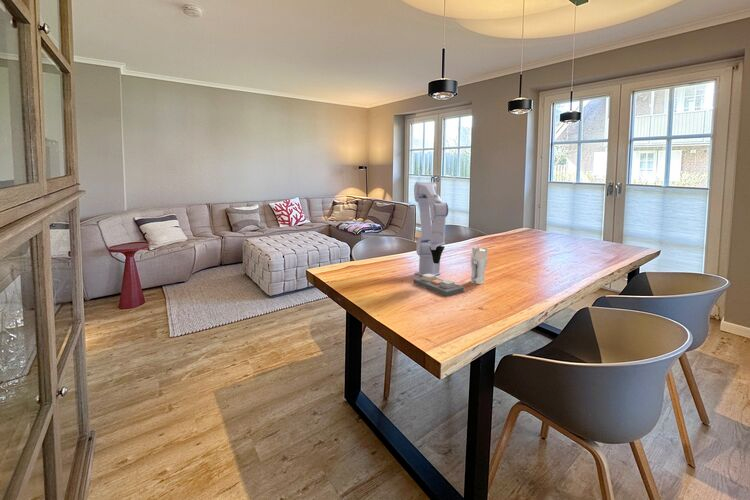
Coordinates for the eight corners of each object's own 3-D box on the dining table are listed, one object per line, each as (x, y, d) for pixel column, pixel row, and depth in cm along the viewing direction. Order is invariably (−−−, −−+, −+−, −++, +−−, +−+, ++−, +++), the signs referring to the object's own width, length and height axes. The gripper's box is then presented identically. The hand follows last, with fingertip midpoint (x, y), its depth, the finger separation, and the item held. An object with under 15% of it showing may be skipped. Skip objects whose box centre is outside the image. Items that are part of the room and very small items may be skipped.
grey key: (447, 285, 155) (447, 279, 155) (454, 288, 152) (454, 282, 152) (440, 287, 153) (440, 281, 152) (447, 289, 150) (447, 283, 149)
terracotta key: (437, 284, 160) (437, 279, 159) (444, 287, 157) (444, 281, 156) (430, 286, 158) (431, 280, 157) (437, 288, 154) (437, 283, 154)
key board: (429, 279, 168) (430, 275, 168) (463, 291, 152) (464, 287, 152) (413, 283, 162) (413, 278, 162) (446, 296, 146) (446, 291, 146)
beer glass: (486, 281, 167) (489, 248, 164) (483, 285, 161) (486, 251, 158) (470, 278, 170) (473, 246, 167) (467, 283, 164) (470, 249, 161)
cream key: (428, 278, 164) (429, 273, 163) (435, 281, 161) (435, 275, 160) (422, 280, 162) (422, 274, 161) (428, 282, 159) (428, 277, 158)
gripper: (433, 228, 165) (431, 258, 168) (424, 233, 152) (422, 265, 155) (448, 229, 162) (447, 260, 165) (441, 235, 149) (439, 267, 152)
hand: (436, 263), depth 160 cm, fingers closed
